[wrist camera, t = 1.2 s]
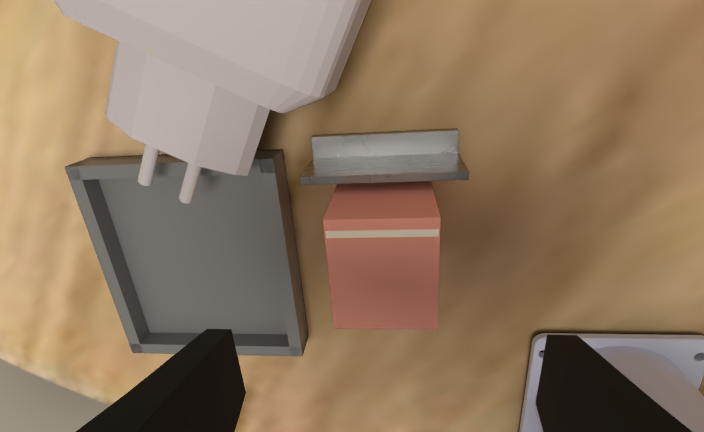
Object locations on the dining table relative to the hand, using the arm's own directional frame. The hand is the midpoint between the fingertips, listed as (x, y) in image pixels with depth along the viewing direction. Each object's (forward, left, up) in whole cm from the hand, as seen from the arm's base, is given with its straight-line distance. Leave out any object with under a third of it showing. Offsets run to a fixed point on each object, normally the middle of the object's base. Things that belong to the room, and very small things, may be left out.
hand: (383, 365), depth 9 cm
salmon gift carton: (0, 0, -10) cm, 10 cm away
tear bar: (+2, 0, -9) cm, 10 cm away
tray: (-2, +9, -9) cm, 13 cm away
